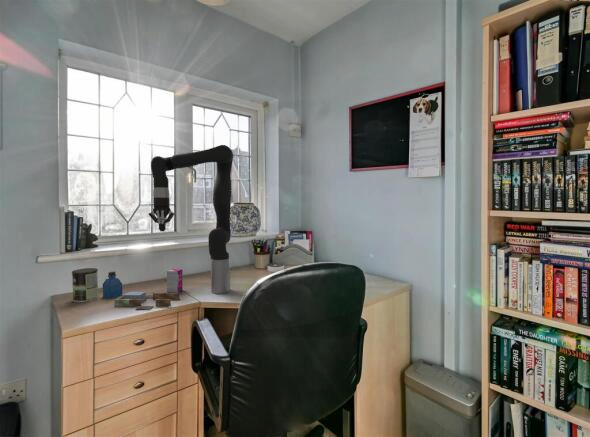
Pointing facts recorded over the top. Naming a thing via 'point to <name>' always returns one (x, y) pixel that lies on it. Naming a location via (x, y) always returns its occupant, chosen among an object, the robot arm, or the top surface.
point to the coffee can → (85, 284)
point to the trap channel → (160, 301)
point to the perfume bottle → (112, 286)
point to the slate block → (135, 295)
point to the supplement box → (174, 280)
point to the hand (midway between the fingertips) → (162, 231)
